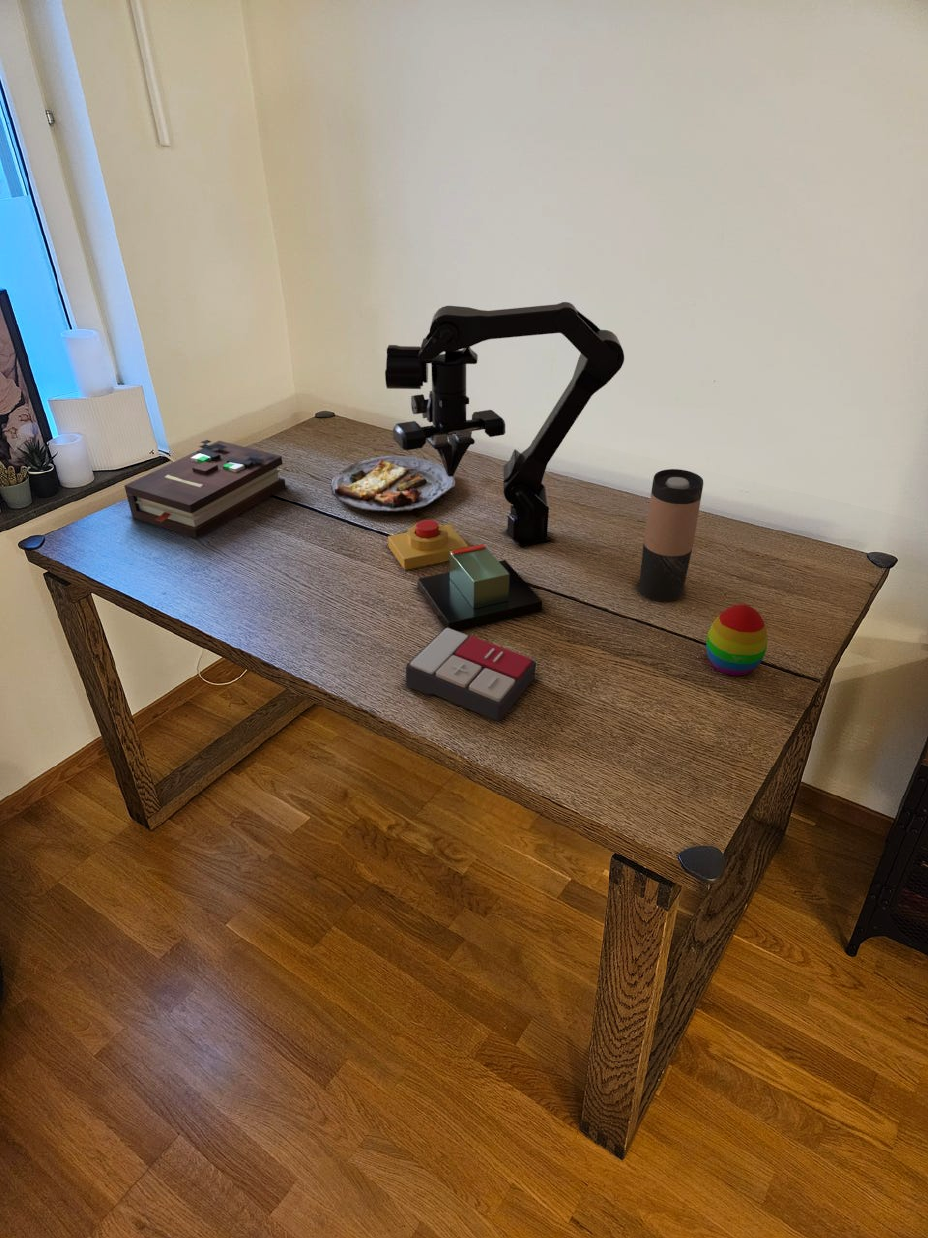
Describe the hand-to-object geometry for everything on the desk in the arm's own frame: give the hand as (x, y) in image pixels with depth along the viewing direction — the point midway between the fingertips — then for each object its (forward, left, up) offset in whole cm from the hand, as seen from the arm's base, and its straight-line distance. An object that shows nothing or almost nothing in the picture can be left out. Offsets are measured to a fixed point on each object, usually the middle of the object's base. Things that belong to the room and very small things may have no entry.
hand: (450, 475), depth 143 cm
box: (+4, +22, -10) cm, 24 cm away
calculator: (+13, +41, -12) cm, 45 cm away
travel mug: (-25, +31, -12) cm, 42 cm away
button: (+6, +4, -8) cm, 11 cm away
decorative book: (+39, -32, -12) cm, 52 cm away
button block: (+6, +4, -12) cm, 14 cm away
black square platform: (+4, +22, -12) cm, 25 cm away
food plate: (+4, -22, -12) cm, 25 cm away
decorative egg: (-23, +52, -12) cm, 58 cm away
